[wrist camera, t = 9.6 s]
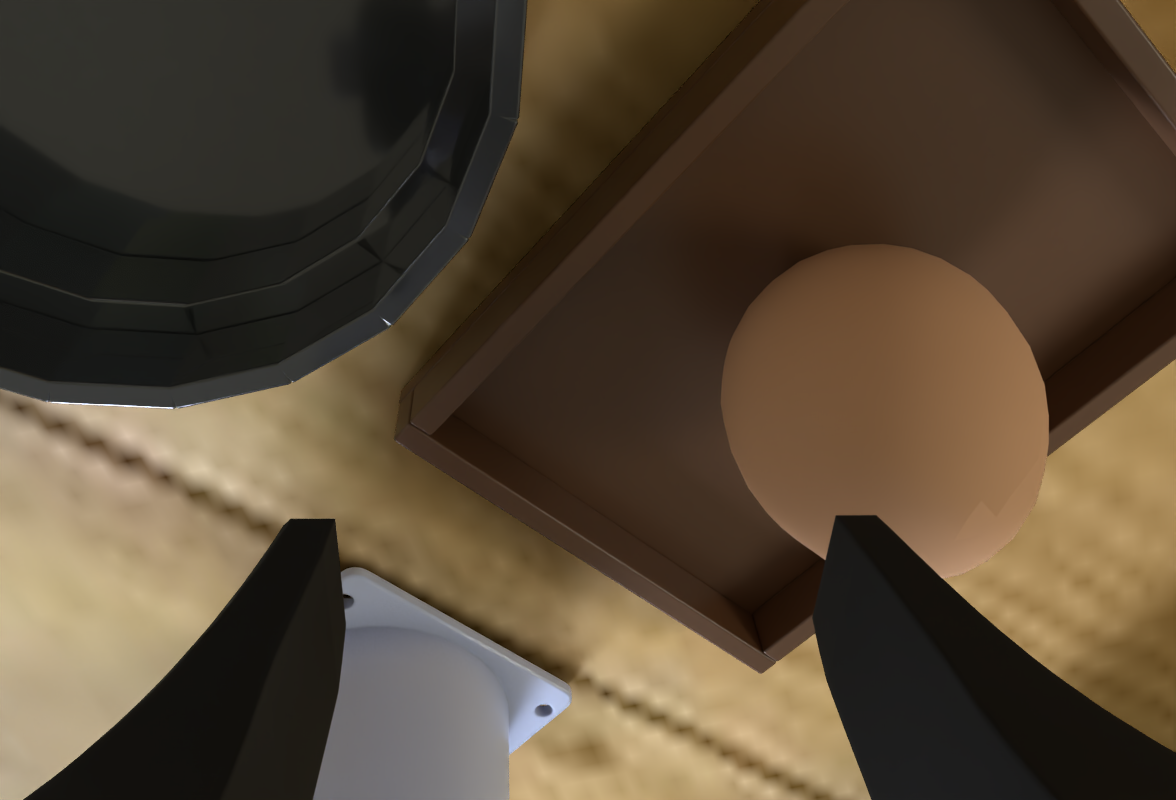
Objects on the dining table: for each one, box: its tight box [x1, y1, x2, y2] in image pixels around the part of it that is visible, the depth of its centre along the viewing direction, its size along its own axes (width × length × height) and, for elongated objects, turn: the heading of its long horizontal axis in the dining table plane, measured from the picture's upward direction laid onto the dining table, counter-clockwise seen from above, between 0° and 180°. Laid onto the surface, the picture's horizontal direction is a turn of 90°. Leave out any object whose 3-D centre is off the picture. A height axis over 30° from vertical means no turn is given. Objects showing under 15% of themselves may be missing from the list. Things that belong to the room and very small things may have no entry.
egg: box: [721, 244, 1049, 579], centre depth 20 cm, size 6×6×8 cm
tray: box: [394, 0, 1176, 674], centre depth 23 cm, size 16×12×2 cm
